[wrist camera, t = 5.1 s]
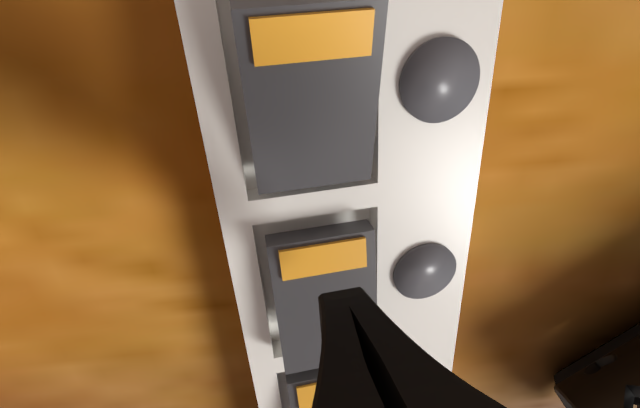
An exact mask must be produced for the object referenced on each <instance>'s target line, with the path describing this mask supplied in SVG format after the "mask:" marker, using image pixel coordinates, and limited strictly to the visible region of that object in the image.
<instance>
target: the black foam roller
mask: <svg viewBox="0 0 640 408" xmlns="http://www.w3.org/2000/svg"><path fill="white" fill-rule="evenodd" d="M554 380H555V384H556V385H555V386H554V390H555V392H556V393H557V395H558V397H559V398H560V400H561V401H562V403H563V404H564V406H565V407H566V408H633V404H635V405H637V408H640V323H639V324H638V325H636V326H634V327H633V328H631V329H629V330H628V331H626V332H624V333H623V334H621V335H620V336H618V337H616V338H615V339H613V340H611V341H610V342H608V343H606V344H605V345H603V346H601V347H600V348H598V349H596V350H595V351H593V352H591V353H590V354H588V355H586V356H585V357H583V358H581V359H580V360H578V361H576V362H575V363H573V364H571V365H570V366H568V367H566V368H565V369H563V370H562V371H560V372H558V373H557V374H555V375H554Z"/></svg>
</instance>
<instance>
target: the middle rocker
mask: <svg viewBox="0 0 640 408" xmlns="http://www.w3.org/2000/svg"><path fill="white" fill-rule="evenodd" d="M265 241H266V248H267V255H268V261H269V268H270V275H271V282H272V288H273V295H274V302H275V308H276V315H277V322H278V329H279V335H280V342H281V349H282V356H283V362H284V369H285V375H287V374H292V373H297V372H302V371H307V370H312V369H317V368H319V362H320V354H321V341H322V339H321V327H320V315H319V303H318V297H319V296H320V295H321V294H322V293H327V292H333V291H338V290H344V289H350V288H355V287H361V288H363V289H364V290H365V292H366V293H367V294H368V295H369V296H370V297H371V299H372V300H373V301H374V302H375V303H376V304H377V281H376V246H375V229H374V228H373V227H372V225H371V224H370V222H369V221H368V220H367V219H364V220H358V221H351V222H345V223H338V224H332V225H325V226H319V227H312V228H306V229H299V230H293V231H286V232H280V233H273V234H267V235H265Z"/></svg>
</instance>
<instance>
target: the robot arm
mask: <svg viewBox="0 0 640 408" xmlns="http://www.w3.org/2000/svg"><path fill="white" fill-rule="evenodd" d="M318 303H319V315H320V327H321V339H322V341H321V354H320V362H319V370H318V377H317V383H316V389H315V394H314V399H313V403H312V408H506V407H505V406H503V405H501V404H500V403H498V402H497V401H495V400H493V399H492V398H490V397H488V396H487V395H485V394H484V393H482V392H480V391H479V390H477V389H475V388H474V387H472V386H471V385H469V384H468V383H467V382H465V381H464V380H462V379H461V378H459V377H458V376H456V375H455V374H454V373H452V372H451V371H450V370H448V369H447V368H446V367H444V366H443V365H442V364H440V363H439V362H438V361H437V360H435V359H434V358H433V357H432V356H430V355H429V354H428V353H427V352H426V351H424V350H423V349H422V348H421V347H420V346H419V345H418V344H416V343H415V342H414V341H413V340H412V339H411V338H410V337H409V336H408V335H406V334H405V333H404V332H403V331H402V330H401V329H400V328H399V327H398V326H397V325H396V324H395V323H394V322H393V321H392V320H391V319H390V318H389V317H388V316H387V315H386V314H385V313H384V312H383V311H382V310H381V309H380V307H379V306H378V305H377V304H376V303H375V302H374V301H373V300H372V299H371V297H370V296H369V295H368V294H367V293H366V292H365V290H364V289H363V288H361V287H355V288H350V289H344V290H338V291H333V292H327V293H322V294H321V295H320V296H319V297H318Z"/></svg>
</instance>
